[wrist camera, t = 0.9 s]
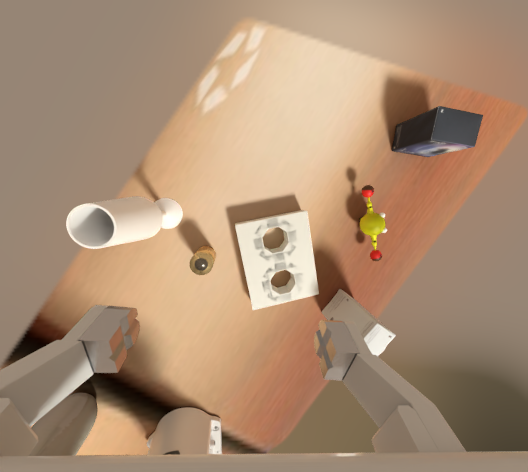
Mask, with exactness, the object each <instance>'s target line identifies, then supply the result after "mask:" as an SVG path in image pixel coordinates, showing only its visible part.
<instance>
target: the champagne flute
mask: <svg viewBox="0 0 528 472" xmlns="http://www.w3.org/2000/svg"><path fill="white" fill-rule="evenodd" d="M182 217H183V212H182V209H181V207H180V205H179V204H178V203H177V202H176V201H175V200H173V199H170V198H161V199H159V200H157V201H155V202H153V201H151V200H149V199H148V198H145V197H140V196H135V197H128V198H121V199H114V200H108V201H101V202H95V203H89V204H83V205H79V206H77V207H75V208H74V209H73V210H72V211H71V212H70V213H69V215H68V217H67V221H66V227H67V231H68V233H69V235H70V236H71V238H72V239H73V240H74V241H75V242H76V243H78V244H79V245H81V246H83V247H86V248H91V249H98V248H103V247H108V246H113V245H118V244H123V243H128V242H133V241H138V240H143V239H147V238H150V237H152V236H154V235H155V234H157V232H158V231H159V230H160V228H161V227H162V228H166V229H169V228H174V227H176V226H177V225H178V224H179V223H180V222H181V220H182Z"/></svg>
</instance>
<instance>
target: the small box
mask: <svg viewBox="0 0 528 472" xmlns="http://www.w3.org/2000/svg"><path fill="white" fill-rule="evenodd" d="M482 117H483V115H480V114H475V113H471V112H466V111H461V110H456V109H451V108H446V107H442V106H438V107H436V108H434V109H432V110H429V111H427V112H425V113H423V114H421V115H418V116H416V117H414V118H412V119H409V120H407V121H405V122H402V123H400V124H397V126H396V131H395V137H394V142H393V147H392V151H394V152H401V153H407V154H413V155H419V156H425V157H430V156H435V155H439V154H444V153H448V152H453V151H457V150H462V149H467V148H471V147H475V144H476V140H477V136H478V132H479V128H480V125H481V121H482Z"/></svg>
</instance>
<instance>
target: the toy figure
mask: <svg viewBox="0 0 528 472" xmlns="http://www.w3.org/2000/svg"><path fill="white" fill-rule="evenodd" d="M373 190H374V188H373V187H372V186H370V185H366V186H364V187H363V188H362V195H363V196H364V197H368V203H367V204H366V205H367V209H368V210H367V214H366V215H365V216H363V217H362V218H360V229H361V230H362V232H363V233H365V234H367V235H370V237H371V240H372V243H371V244H372V245H373V246H374V250H373V251H372V252H371V254H370V257H371V259H372V260H373V261H379V260H380V259H381V258H382V256H381V255H382V254H381V252H380V251H378V250H376V245H377V242H376V237H377V235H378V234H380V233H381V232H382V233H385V232H387V229H386V228H385V220H384V217H385V213H380V214H377V213H374V212H373V209H372V203H371V202H370V198H369V197H371V196H372V195H373V193H374V191H373Z"/></svg>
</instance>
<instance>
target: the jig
mask: <svg viewBox="0 0 528 472" xmlns="http://www.w3.org/2000/svg"><path fill="white" fill-rule="evenodd" d="M275 227H279V228H281V229H282V230H283V233H284V241H283V242H282V244H281V245H280V247H278V248H274V249H268V248H267V247H265V246H264V244H263V239H262V237H263V236H264V234H265V233H266V232H267V230H268V229H270V228H275ZM235 228H236V233H237V237H238V242H239V247H240V251H241V256H242V261H243V266H244V270H245V275H246V280H247V284H248V289H249V294H250V298H251V303H252V308H253V310H256V309H260V308H265V307H269V306H273V305H277V304H281V303H285V302H289V301H293V300H297V299H301V298H305V297H309V296H313V295H318V294H319V290H318V283H317V276H316V269H315V262H314V255H313V248H312V241H311V234H310V227H309V220H308V213H307V211H305V210H299V211H294V212H289V213H284V214H279V215H274V216H269V217H264V218H259V219H254V220H249V221H244V222H239V223H235ZM283 270H287V271H289V272H290V275H291V279H290V280H289V281H288V283H287V284H286V285H285V286H281V287H275V286H273V285H272V284H271V281H270V280H271V279H272V277H273V276H274V274H275V273H276V272H278V271H283Z"/></svg>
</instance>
